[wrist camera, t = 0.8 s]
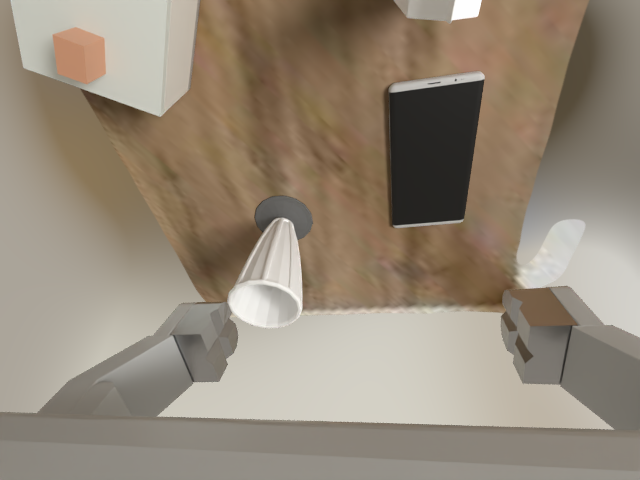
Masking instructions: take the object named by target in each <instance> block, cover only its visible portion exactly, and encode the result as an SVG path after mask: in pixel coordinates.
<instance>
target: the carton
mask: <svg viewBox="0 0 640 480" xmlns="http://www.w3.org/2000/svg"><path fill="white" fill-rule="evenodd" d="M199 6H200V0H171V8H170V23H169V38H168V53H167V68H166V84H165V99H164V113H165V112H166V111H167V110H168V109H169V108H170V107H171V106H172V105H173V104H174V103H175V102H177V101H178V100H179V99H180V98H181V97H182V96H183V95H184V94H185V93H186V92H187V91H188V90H189V89H190V86H191V77H192V68H193V59H194V50H195V41H196V33H197V24H198V15H199Z"/></svg>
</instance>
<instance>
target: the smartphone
mask: <svg viewBox="0 0 640 480" xmlns="http://www.w3.org/2000/svg"><path fill="white" fill-rule="evenodd" d="M484 78H485V77H484V74H483V73H482V72H480V71H474V72H467V73H460V74H453V75H446V76H439V77H432V78H426V79H419V80H412V81H405V82H398V83H393V84H392V85H391V86H390V87H389V127H390V129H389V133H390V160H391V197H392V225H393V227H395V228H404V227H416V226H428V225H440V224H452V223H460V222H462V221H463V220H464V215H465V209H466V202H467V195H468V188H469V181H470V174H471V168H472V161H473V154H474V147H475V140H476V133H477V126H478V120H479V113H480V106H481V99H482V92H483V85H484ZM394 84H395V85H394Z"/></svg>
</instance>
